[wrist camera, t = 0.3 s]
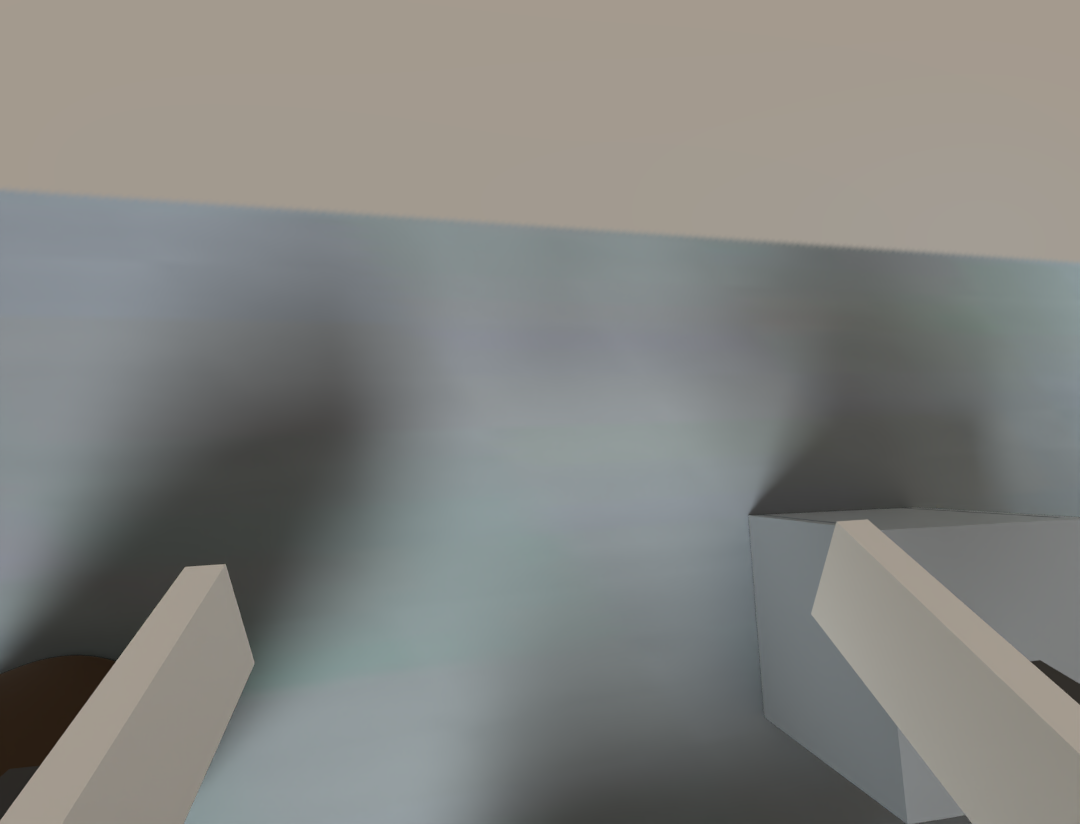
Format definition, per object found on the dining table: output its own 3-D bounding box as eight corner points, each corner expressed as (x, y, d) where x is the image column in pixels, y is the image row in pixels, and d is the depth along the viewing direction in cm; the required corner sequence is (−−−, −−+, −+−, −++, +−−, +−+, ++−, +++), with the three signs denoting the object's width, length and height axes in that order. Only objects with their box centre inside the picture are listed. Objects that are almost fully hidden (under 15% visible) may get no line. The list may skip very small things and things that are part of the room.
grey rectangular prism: (935, 696, 29) (1137, 787, 21) (764, 716, 28) (907, 824, 19) (913, 507, 30) (1096, 518, 22) (748, 515, 29) (876, 530, 20)
